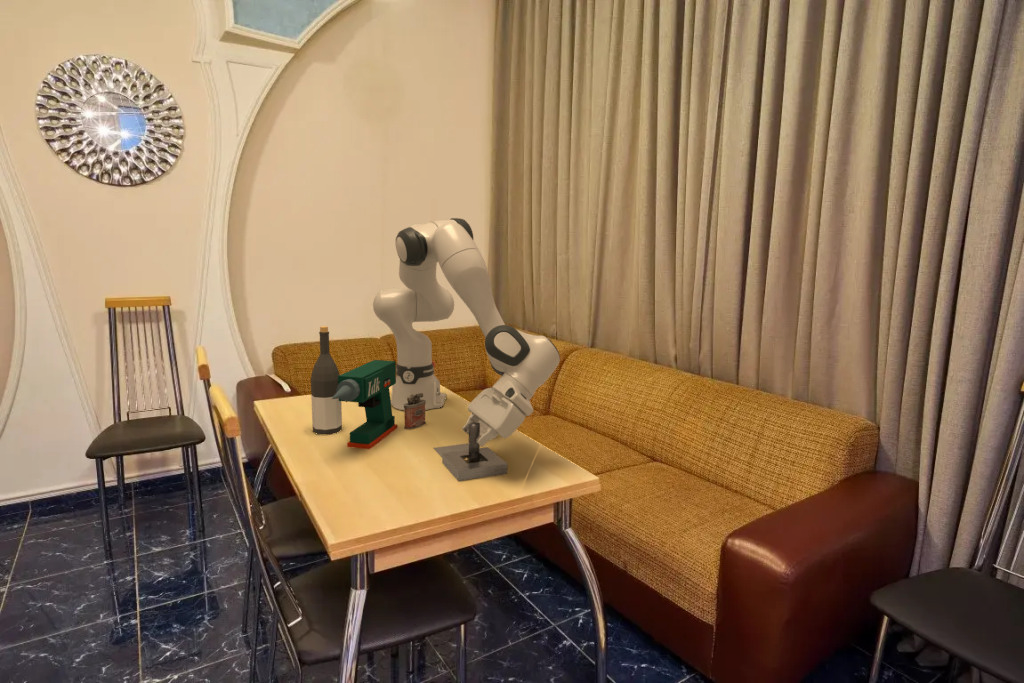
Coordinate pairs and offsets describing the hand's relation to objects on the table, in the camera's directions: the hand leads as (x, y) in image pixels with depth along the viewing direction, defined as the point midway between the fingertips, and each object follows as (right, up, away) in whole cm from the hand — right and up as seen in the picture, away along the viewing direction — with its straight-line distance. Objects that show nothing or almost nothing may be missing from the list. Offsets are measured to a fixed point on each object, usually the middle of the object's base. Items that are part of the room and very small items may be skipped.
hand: (471, 437), depth 140 cm
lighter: (-19, -3, +33) cm, 38 cm away
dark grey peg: (0, -8, +2) cm, 8 cm away
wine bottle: (-43, -3, +29) cm, 52 cm away
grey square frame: (0, -8, +2) cm, 8 cm away
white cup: (+2, -4, +25) cm, 26 cm away
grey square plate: (-5, -6, +13) cm, 15 cm away
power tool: (-30, -5, +18) cm, 35 cm away
